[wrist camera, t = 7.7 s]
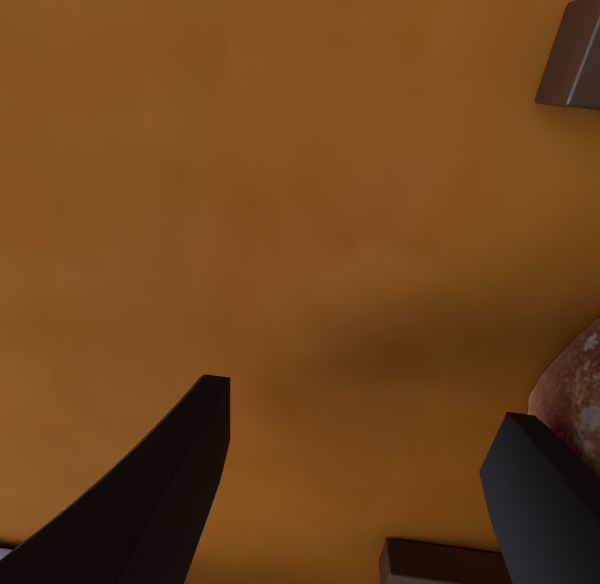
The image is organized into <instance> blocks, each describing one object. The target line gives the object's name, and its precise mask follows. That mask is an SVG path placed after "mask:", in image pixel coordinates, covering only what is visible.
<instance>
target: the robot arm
mask: <svg viewBox="0 0 600 584" xmlns="http://www.w3.org/2000/svg"><path fill="white" fill-rule="evenodd" d="M229 442H230V378H229V377H221V376H213V375H205V374H204V375H203V376H201V377H200V378H199V379H198V380H197V381H196V383H195V384H194V385H193V386H192V387H191V388H190V389H189V391H188V392H187V393H186V394H185V395H184V396H183V397H182V398H181V400H180V401H179V402H178V403H177V404H176V405H175V406H174V407H173V408H172V409H171V410H170V411H169V413H168V414H167V415H166V416H165V417H164V418H163V419H162V420H161V421H160V422H159V423H158V424H157V425H156V426H155V427H154V428H153V429H152V430H151V431H150V432H149V433H148V434H147V435H146V436H145V437H144V438H143V439H142V440H141V441H140V442H139V443H138V444H137V445H136V446H135V447H134V448H133V449H132V450H131V451H130V452H129V453H128V454H127V455H126V456H124V457H123V458H122V459H121V460H120V461H119V462H118V463H117V464H116V465H115V466H114V467H113V468H111V469H110V470H109V471H108V472H107V473H106V474H105V475H104V476H103V477H102V478H101V479H100V480H98V481H97V482H96V483H95V484H94V485H93V486H92V487H91V488H89V489H88V490H87V491H86V492H85V493H84V494H82V495H81V496H80V497H79V498H78V499H77V500H75V501H74V502H73V503H72V504H71V505H69V506H68V507H67V508H66V509H65V510H63V511H62V512H61V513H60V514H58V515H57V516H56V517H55V518H53V519H52V520H51V521H50V522H48V523H47V524H46V525H45V526H44V527H42V528H41V529H40V530H38V531H37V532H36V533H35V534H33V535H32V536H31V537H29V538H28V539H27V540H25V541H24V542H23V543H21V544H20V545H19V546H17V547H16V548H15V549H13V550H12V549H5V548H0V584H184V582H185V579H186V576H187V573H188V571H189V568H190V565H191V562H192V559H193V556H194V554H195V551H196V548H197V545H198V542H199V540H200V537H201V534H202V531H203V528H204V526H205V523H206V520H207V517H208V514H209V511H210V509H211V506H212V503H213V500H214V497H215V494H216V491H217V489H218V486H219V483H220V479H221V475H222V471H223V467H224V463H225V459H226V455H227V450H228V446H229ZM480 476H481V481H482V486H483V491H484V495H485V500H486V504H487V508H488V512H489V516H490V520H491V523H492V526H493V529H494V531H495V534H496V537H497V540H498V543H499V546H500V549H501V552H502V554H503V557H504V560H505V563H506V566H507V569H508V571H509V574H510V577H511V580H512V582H513V584H600V476H599V475H598V474H597V473H596V472H595V471H594V470H593V469H592V468H591V467H590V466H589V465H588V464H587V463H585V462H584V461H583V460H582V459H581V458H580V457H579V456H578V455H577V454H576V453H575V452H574V451H573V450H572V449H571V448H570V447H569V446H568V445H567V444H565V443H564V442H563V441H562V440H561V439H560V438H559V437H558V436H557V435H556V434H555V433H554V432H553V431H552V430H551V429H549V428H548V427H547V426H546V425H545V424H544V423H543V422H542V421H541V420H539V419H538V418H537V417H536V416H535V415H528V414H520V413H512V412H507V414H506V416H505V418H504V420H503V422H502V424H501V426H500V428H499V431H498V433H497V435H496V437H495V439H494V441H493V443H492V445H491V448H490V450H489V452H488V454H487V456H486V458H485V460H484V462H483V465H482V467H481V469H480Z"/></svg>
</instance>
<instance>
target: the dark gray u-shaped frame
mask: <svg viewBox="0 0 600 584" xmlns="http://www.w3.org/2000/svg"><path fill="white" fill-rule="evenodd" d="M535 102H536V103H540V104H549V105H557V106H566V107H575V108H585V109H596V110H600V0H576V1H573V2H570V3H568V4H567V6H566V9H565V12H564V15H563V18H562V21H561V24H560V27H559V30H558V33H557V36H556V38H555V41H554V44H553V47H552V50H551V53H550V56H549V59H548V62H547V65H546V68H545V71H544V74H543V77H542V80H541V83H540V86H539V89H538V92H537V95H536V98H535ZM379 571H380V583H381V584H513V582H512V580H511V577H510V574H509V571H508V569H507V566H506V563H505V560H504V557H503V554H498V553H491V552H484V551H476V550H469V549H462V548H454V547H447V546H440V545H432V544H425V543H418V542H410V541H403V540H395V539H388V538H387V539H386V541H385V544H384V547H383V550H382V553H381V555H380V558H379Z"/></svg>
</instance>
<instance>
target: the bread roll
mask: <svg viewBox="0 0 600 584" xmlns="http://www.w3.org/2000/svg"><path fill="white" fill-rule="evenodd" d="M528 404H529V409H528V412H527V414H528V415H535V416H536V417H537V418H538V419H539V420H541V421H542V422H543V423H544V424H545V425H546V426H547V427H548V428H549V429H551V430H552V431H553V432H554V433H555V434H556V435H557V436H558V437H559V438H560V439H561V440H562V441H563V442H564V443H565V444H567V445H568V446H569V447H570V448H571V449H572V450H573V451H574V452H575V453H576V454H577V455H578V456H579V457H580V458H581V459H582V460H583V461H584V462H585V463H587V464H588V465H589V466H590V467H591V468H592V469H593V470H594V471H595V472H596V473H597V474H598V475H599V476H600V318H598V319H597V320H596V321H594V322H593V323H592V324H591V325H590V326H589V327H587V328H586V329H585V330H584V331H583V332H582V333H580V334H579V335H578V336H577V337H576V338H575V339H574V340H573V341H572V342H571V343H570V344H569V345H568V346H567V347H566V348H565V349H564V350H563V351H562V352H561V354H560V355H559V356H558V357H557V358H556V359H555V360H554V361H553V362H552V363H551V364H550V365H549V366H548V367H547V368H546V370H545V372H544V373H543V375H542V376H541V378H540V379H539V381H538V382H537V384H536V385H535V387H534V389H533V390H532V392H531V393H530V395H529V398H528Z"/></svg>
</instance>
